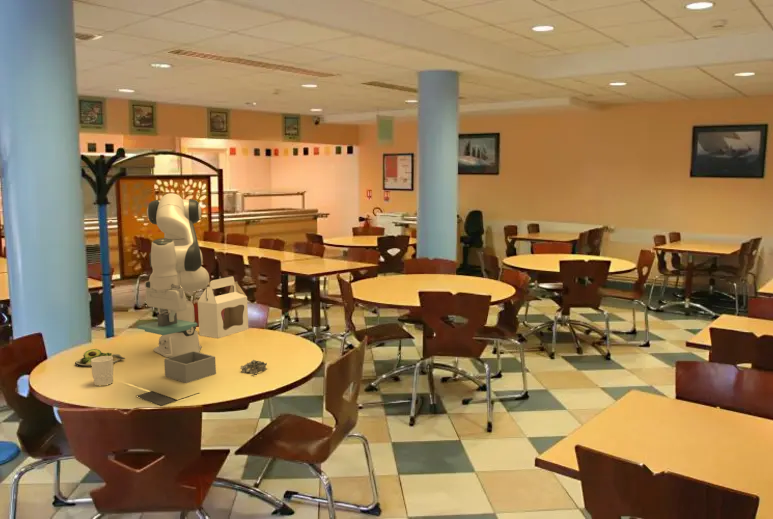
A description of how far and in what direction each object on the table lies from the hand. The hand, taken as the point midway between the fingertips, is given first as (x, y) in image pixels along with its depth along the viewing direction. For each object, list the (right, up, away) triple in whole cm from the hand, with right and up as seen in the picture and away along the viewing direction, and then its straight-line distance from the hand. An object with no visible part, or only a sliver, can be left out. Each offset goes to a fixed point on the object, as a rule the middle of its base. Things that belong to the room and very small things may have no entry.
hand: (167, 320), depth 237 cm
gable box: (-3, -15, +94) cm, 95 cm away
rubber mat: (0, -28, +1) cm, 28 cm away
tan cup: (-30, -26, +15) cm, 42 cm away
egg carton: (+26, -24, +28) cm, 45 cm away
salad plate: (-45, -23, +45) cm, 67 cm away
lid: (0, -4, 0) cm, 4 cm away
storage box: (+2, -25, +22) cm, 33 cm away
